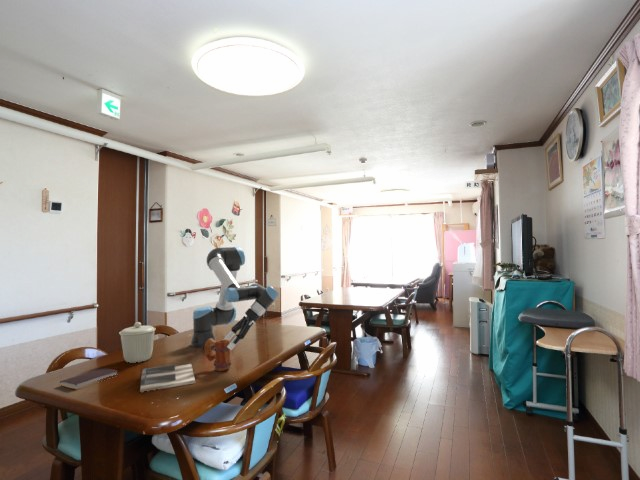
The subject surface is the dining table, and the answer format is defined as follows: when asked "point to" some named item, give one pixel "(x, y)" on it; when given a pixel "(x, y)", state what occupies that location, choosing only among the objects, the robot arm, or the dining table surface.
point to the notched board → (166, 377)
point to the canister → (137, 342)
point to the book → (89, 377)
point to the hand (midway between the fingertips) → (226, 345)
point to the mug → (218, 353)
